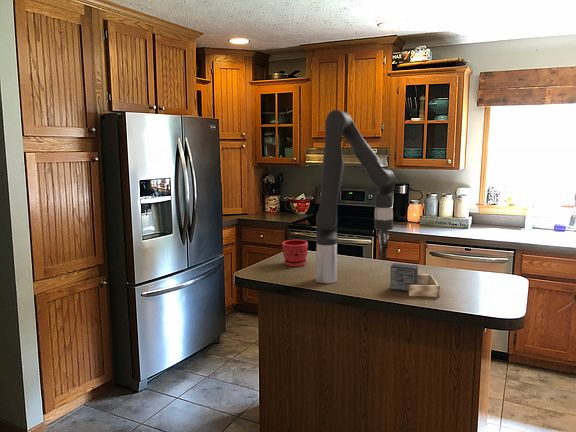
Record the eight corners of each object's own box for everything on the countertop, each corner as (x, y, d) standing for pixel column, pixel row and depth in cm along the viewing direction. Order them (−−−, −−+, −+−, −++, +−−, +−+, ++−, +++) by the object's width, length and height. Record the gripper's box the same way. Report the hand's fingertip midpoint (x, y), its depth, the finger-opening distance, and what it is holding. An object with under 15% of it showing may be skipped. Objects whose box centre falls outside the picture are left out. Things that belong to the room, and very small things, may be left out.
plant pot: (281, 262, 245) (281, 239, 244) (306, 261, 247) (305, 239, 245) (283, 268, 233) (283, 244, 231) (309, 267, 234) (309, 244, 232)
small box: (417, 288, 198) (418, 264, 196) (415, 293, 192) (416, 268, 190) (393, 285, 202) (393, 262, 200) (389, 290, 196) (390, 265, 195)
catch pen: (409, 295, 188) (409, 285, 187) (403, 283, 205) (403, 273, 205) (439, 296, 187) (439, 286, 186) (431, 284, 204) (431, 274, 203)
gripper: (373, 215, 200) (373, 254, 203) (375, 220, 187) (375, 262, 190) (391, 215, 200) (390, 254, 202) (394, 220, 187) (394, 262, 189)
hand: (383, 258), depth 196 cm, fingers closed
